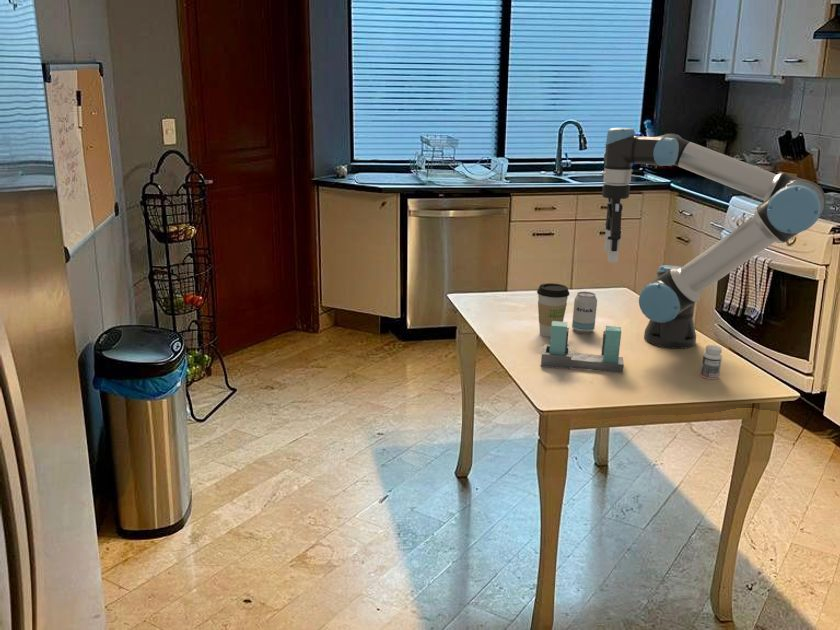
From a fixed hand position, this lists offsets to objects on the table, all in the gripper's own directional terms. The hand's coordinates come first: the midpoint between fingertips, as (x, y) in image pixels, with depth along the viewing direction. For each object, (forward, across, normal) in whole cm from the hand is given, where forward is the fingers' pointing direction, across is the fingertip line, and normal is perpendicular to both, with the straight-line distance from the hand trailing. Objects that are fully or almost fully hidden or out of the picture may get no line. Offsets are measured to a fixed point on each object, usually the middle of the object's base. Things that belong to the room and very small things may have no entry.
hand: (610, 256), depth 232 cm
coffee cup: (+26, -4, -16) cm, 31 cm away
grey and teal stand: (+26, +22, -8) cm, 35 cm away
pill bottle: (+27, +23, +26) cm, 44 cm away
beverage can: (+26, -9, -6) cm, 28 cm away
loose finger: (+24, +21, -14) cm, 35 cm away
